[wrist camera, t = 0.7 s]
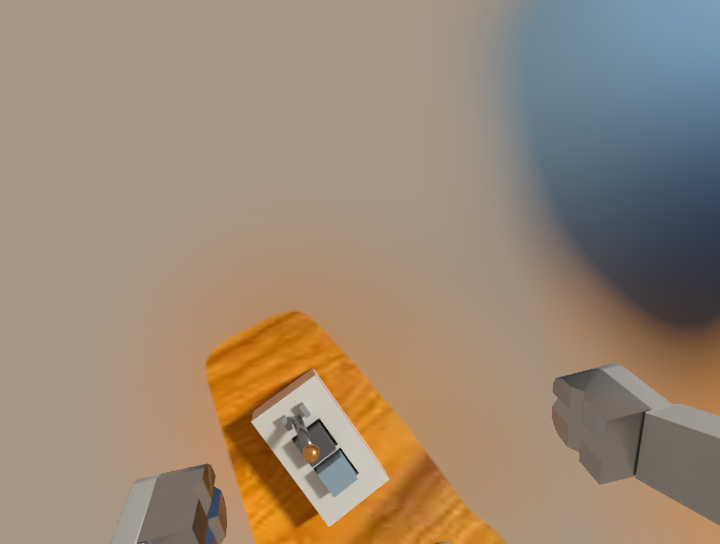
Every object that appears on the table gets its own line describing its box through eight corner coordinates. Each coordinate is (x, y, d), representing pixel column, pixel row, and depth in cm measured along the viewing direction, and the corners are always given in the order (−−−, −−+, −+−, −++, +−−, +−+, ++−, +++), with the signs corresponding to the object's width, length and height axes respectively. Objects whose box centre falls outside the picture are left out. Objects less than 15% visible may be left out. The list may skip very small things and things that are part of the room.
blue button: (354, 469, 53) (357, 479, 50) (331, 487, 52) (334, 497, 50) (339, 448, 52) (341, 456, 50) (316, 465, 52) (317, 475, 50)
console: (381, 464, 57) (391, 483, 52) (325, 508, 55) (329, 532, 50) (312, 367, 55) (315, 377, 50) (253, 410, 54) (250, 424, 49)
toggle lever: (306, 416, 51) (324, 458, 45) (293, 425, 50) (310, 469, 45) (298, 407, 50) (316, 449, 44) (285, 417, 50) (301, 460, 44)
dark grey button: (333, 441, 52) (336, 449, 50) (310, 458, 52) (312, 467, 49) (318, 419, 52) (319, 426, 50) (294, 436, 51) (295, 444, 49)
